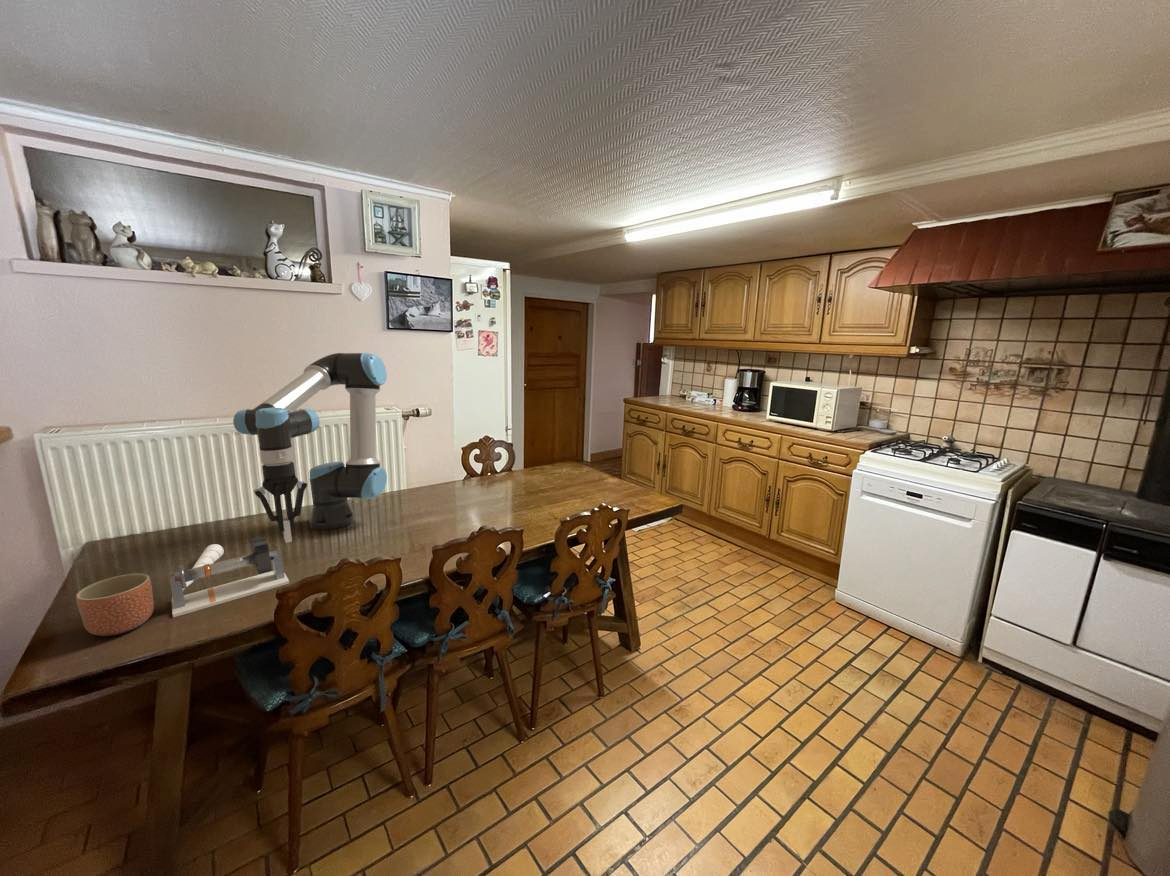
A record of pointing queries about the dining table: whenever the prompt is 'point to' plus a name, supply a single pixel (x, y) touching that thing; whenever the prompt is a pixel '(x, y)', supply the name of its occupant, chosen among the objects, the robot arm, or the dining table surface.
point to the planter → (116, 604)
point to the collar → (261, 555)
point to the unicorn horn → (208, 557)
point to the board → (228, 592)
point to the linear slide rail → (211, 569)
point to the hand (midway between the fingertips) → (288, 540)
